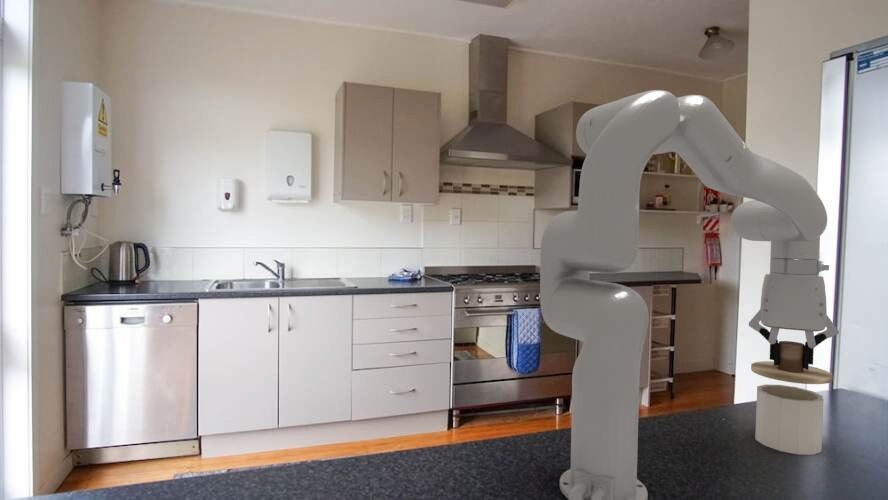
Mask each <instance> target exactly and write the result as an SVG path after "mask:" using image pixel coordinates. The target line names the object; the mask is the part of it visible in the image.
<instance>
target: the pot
mask: <svg viewBox="0 0 888 500" xmlns="http://www.w3.org/2000/svg"><path fill="white" fill-rule="evenodd" d="M823 397H824V396H823V395H821V394H819V393H818V392H814V391H812V390H810V389H809V390H808V389H805V388H801V387H797V386H791V385H784V384H761V385H758V386H757V387H756V406H755V407H756V411H755V435H754V438H755V440H756V441H757V442H759V443H760V444H761V445H762V446H765V447H767V448H771V449H772V450H776V451H778V452H784V453H789V454H794V455H806V456H807V455H809V456H813V455H816V454H820V453H822V447H823V446H822V444H823V420H824V398H823Z"/></svg>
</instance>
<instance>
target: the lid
mask: <svg viewBox="0 0 888 500" xmlns="http://www.w3.org/2000/svg"><path fill="white" fill-rule="evenodd" d="M778 343H779V363H778V365H777V366H774V360H769V361H768V360H766V361H765V360H764V361H763V360H762V361H756V362H752V363H751V365H750V367H751V368H750V370H751V371H752V372H753V373H754V374H756V375H758V376H761V377H764V378H767V379H772V380H775V381H780V382H787V383H793V384H804V385H827V384H830V383H832V382H833V380H834V379H833V377H834V375H833V374H832V373H831V372H829V371H827V370H825V369H822V368H819V367H816V366H813V365H809V369H808V370H807V369H804V368H803V365H804V346H805V343H801V342H797V341H790V340H781V341H780V340H778Z"/></svg>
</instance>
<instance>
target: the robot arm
mask: <svg viewBox="0 0 888 500" xmlns="http://www.w3.org/2000/svg"><path fill="white" fill-rule="evenodd" d="M575 137H576V138H575V139H576V142H577V144H578V146H579V148H580V149H581V151H582V152H583V153H585V155H586V156H585V157H584V158H585V159H584V161H583V162H582V163H583V164H582V167H581V170H580V171H581V172H580V177H579V188H578V203H577V204H578V205H577V210H568V211H564V212H561V213H559V214H556V215H555V216H553V218H552V219H550V220H549V222H548V223H547V225H546V226H545V229H544V231H543V233H542V236H541V241H540V253H539V254H540V255H539V257H540V258H539V259H540V263H539V264H540V265H539V267H540V268H539V270H540V271H539V275H540V276H539V280H540V282H539V289H540V290H539V293H540V294H539V299H540V302H539V303H540V311H541V316H542V318H543V321H544V322H545V324H546V325H547V327H548V328H550V330H552V331H553V332H554V333H556V334H559V335H561V336H564V337H568V338H571V339H574V340H578V341H581V342H583V344H582V348H581V350H580V352H579V354H578V356H577V358H576V359H575V361H574V366H573V369H572V378H571V384H572V385H571V423H570V424H571V430H570V431H571V433H570V468H569V469H567V470H566V471H564V472H563V473H562V474H561V475H560V478H559V489H560V491H561V493H562V494H563V495H564V496H565V498H567V500H648V497H649V496H648V495H649V494H648V493H649V492H648V489H647V488H646V486H645V485H644V483H642V481H640V480H639V479H638V476H637V475H638V449H639V448H638V447H639V445H638V443H639V442H638V441H639V440H638V439H639V438H638V437H639V409H640V408H639V406H640V403H639V402H640V370H641V361H642V353H643V349H644V345H645V339H646V335H647V332H648V327H649V320H650V319H649V317H650V316H649V315H650V314H649V309H648V306H647V303H646V301H645V300H644V298H643V297H642V296H641V295H640V294H639V293H638V292H637V291H636V290H635V289H633V288H631V287H628V286H626V285H623V284H619V283H615V282H608V281H603V280H601V281H600V280H590V276H591V275H590V273H600V274H618V273H623V272H626V271H627V270H629V269H630V268H631V267H632V266H633V265H634V264H635V262H636V260H637V256H638V251H639V238H640V237H639V236H640V235H639V234H640V228H639V227H640V193H641V192H640V189H641V180H642V176H643V172H644V171H645V168H646V165H647V164H648V162H649V160H650V159H651V158H652V157H653V155H654V156H655V155H659V154H660V155H661V154H666V153H671V152H672V153H677V155H678V156H679V157H680V158H681V159H682V160H683V161H684V163H686V164H687V166H688V167H689V168H690V169H691V170H692V172H693V173H694V174H695V175H696V176H697V178H698V179H699V180H700V181H701V183H702V184H703V185H705V187H707V188H709V189H711V190H713V191H716V192H720V193H724V194H726V195H731V196H735V197H741V198H746V199H749V200H748V201H744V202H742V203H740V204H739V205H738V206H737V207H736V208H735V209H734V210H733V212H732V214H731V217H730V224H731V228H732V230H733V231H734V233H735V234H736V235H737V236H738V237H740V238H742V239H743V240H747V241H752V242H770V255H769V256H770V258H769V259H770V260H769V273H765V275H764V277H763V282H762V288H761V296H760V308H759V310H758V311H757V312H756V314H755V315H754V316H753V317H752V318H751V320H750V321H749V322H748V326H749V327H750V328H752V329H753V330H754V331H756V332H758V333H759V334H760V335H761V336H762V337H763V338H764V339H765V340H766V342H768V343H769V361H774V366H777V365H778V363H779V340H778V335H779V331H780V329H781V330H792V331H793V330H795V331H803V332H804V333H805V339H806V341H805V343H804V365H803V368H804V369H807V370H808V369H809V366H813V365H814V351H815V350H814V349H815V348H816V347H817V346H818V345H820V344H821V343H822V342H824V341H825V340H827V339H831V338H833V337H834V336H835V337H836V336H837V335H839V334H840V331H839V329H838V328H837V327H836V325H835V324H834V323H833V321H832V319H830V317H829V315H828V314H827V312H828V310H827V295H826V285H825V284H826V283H825V279H824V276H821V275H819V274H820V273H821V272H824V271H829V270H830V263H828V262H823V261H822V260H821V261H820V253H821V252H820V249H821V247H820V246H821V245H820V244H821V236H822V235H823V233H824V232H825V230H826V229H827V225H828V215H827V210H826V209H827V208H826V207H825V204H824V203H823V201H822V199H821V197H820V196H819V194H818V193H817V192H816V190H815V189H814V188H813V186H812V185H811V183H810V182H809V181H807V179H806V178H804V177H803V176H802V175H801V174H799V173H798V172H796V171H795V170H792V169H790V168H788V167H786V166H784V165H782V164H780V163H778V162H776V161H774V160H771V159H769V158H766V157H764V156H762V155H759V154H756V153H754V152H753V151H751V149H750V148H749V147H748V146H747V144H746V143H745V142H744V141H743V139H742V138H741V137H740V135H739V134H738V133H737V132H736V130H735V129H734V128H733V126H732V125H731V124H730V122H729V121H728V120H727V119H726V117H725V116H724V114H722V112H721V111H720V110H719V108H718V107H717V106H716V105H715V103H714V102H713V101H712V100H711V99H709V98H708V97H706V96H704V95H699V94H688V95H684V96H679V97H677V96H676V95H674V94H673V93H672V92H670V91H667V90H661V89H653V90H646V91H643V92H638V93H636V94H635V93H634V94H632V95H629V96H625V97H622V98H619V99H617V100H614V101H611V102H607V103H605V104H601V105H598V106H595V107H593V108H590V109H589V110H587V111H586V112H584V114H582V116H581V117H580V118H579V120H578V123H577V126H576V130H575ZM760 323H761V324H762V325H761V324H760ZM766 327H768V328H770V331H769V330H768V329H767V328H766ZM825 329H826V330H825ZM820 331H821V332H820ZM814 332H819V333H817V334H816V335H815V334H814Z"/></svg>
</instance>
